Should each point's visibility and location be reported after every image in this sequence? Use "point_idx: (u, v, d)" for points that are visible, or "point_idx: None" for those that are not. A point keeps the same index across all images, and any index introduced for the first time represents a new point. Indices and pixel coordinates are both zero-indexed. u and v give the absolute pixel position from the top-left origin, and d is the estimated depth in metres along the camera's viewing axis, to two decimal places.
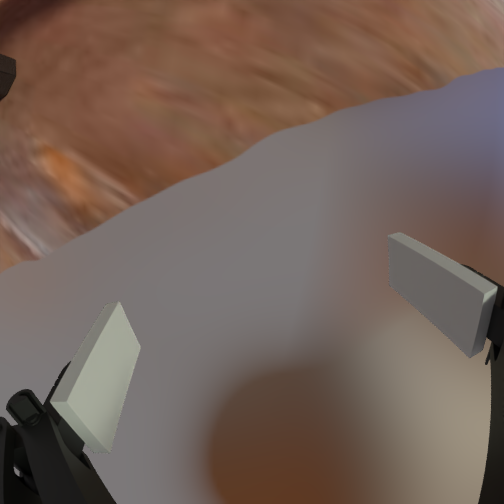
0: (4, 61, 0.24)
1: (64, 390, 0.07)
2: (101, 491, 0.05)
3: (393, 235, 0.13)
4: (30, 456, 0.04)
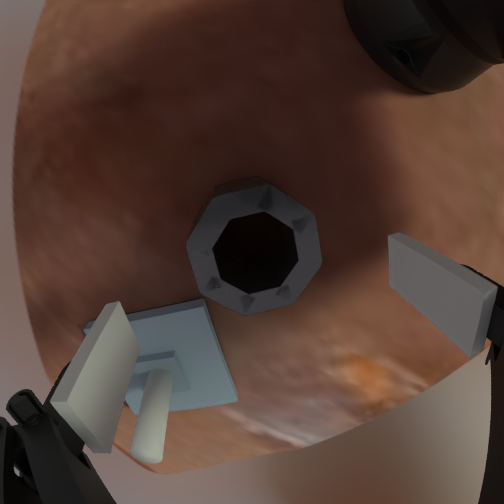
0: None
1: (64, 390, 0.07)
2: (101, 491, 0.05)
3: (393, 235, 0.13)
4: (30, 456, 0.04)
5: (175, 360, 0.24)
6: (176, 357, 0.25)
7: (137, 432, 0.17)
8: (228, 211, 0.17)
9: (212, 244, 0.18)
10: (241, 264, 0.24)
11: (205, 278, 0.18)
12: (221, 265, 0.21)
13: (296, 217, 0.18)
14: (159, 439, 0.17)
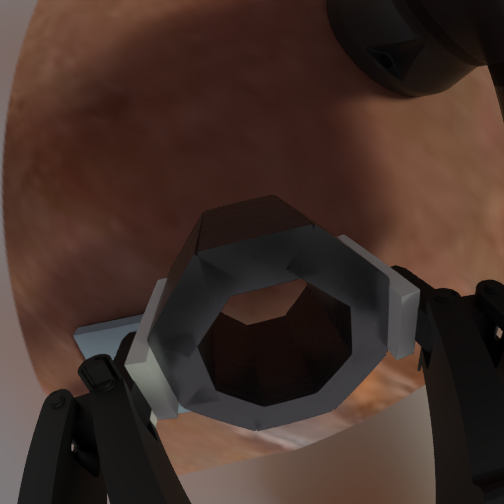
0: None
1: (139, 353, 0.08)
2: (166, 465, 0.06)
3: None
4: (96, 423, 0.06)
5: None
6: None
7: None
8: (227, 281, 0.08)
9: (197, 339, 0.09)
10: (247, 333, 0.15)
11: (189, 389, 0.09)
12: (216, 350, 0.12)
13: (357, 284, 0.09)
14: None
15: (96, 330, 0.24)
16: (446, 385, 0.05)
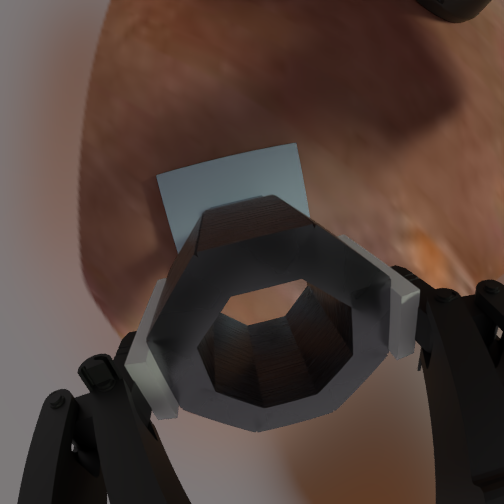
0: None
1: (139, 353, 0.08)
2: (166, 465, 0.06)
3: None
4: (97, 423, 0.06)
5: None
6: None
7: None
8: (227, 281, 0.08)
9: (197, 340, 0.09)
10: (247, 334, 0.15)
11: (188, 390, 0.09)
12: (216, 351, 0.12)
13: (358, 285, 0.09)
14: None
15: (188, 166, 0.23)
16: (446, 385, 0.05)
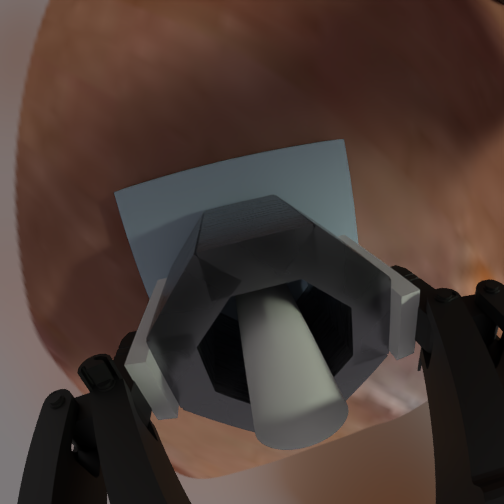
0: None
1: (139, 353, 0.08)
2: (166, 465, 0.06)
3: None
4: (97, 423, 0.06)
5: None
6: None
7: (271, 361, 0.07)
8: (226, 282, 0.08)
9: (197, 340, 0.09)
10: None
11: (188, 390, 0.09)
12: (216, 351, 0.12)
13: (359, 285, 0.09)
14: (329, 371, 0.07)
15: (165, 176, 0.14)
16: (446, 385, 0.05)
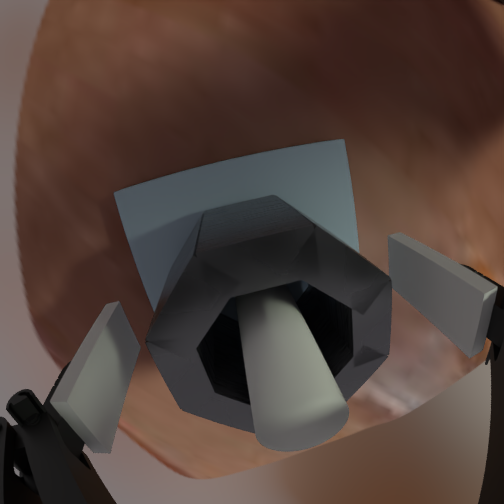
0: None
1: (64, 390, 0.07)
2: (101, 491, 0.05)
3: (393, 235, 0.13)
4: (30, 456, 0.04)
5: None
6: None
7: (272, 362, 0.07)
8: (226, 283, 0.08)
9: (196, 341, 0.09)
10: None
11: (188, 391, 0.09)
12: (215, 351, 0.12)
13: (359, 286, 0.09)
14: (330, 372, 0.07)
15: (165, 176, 0.14)
16: None
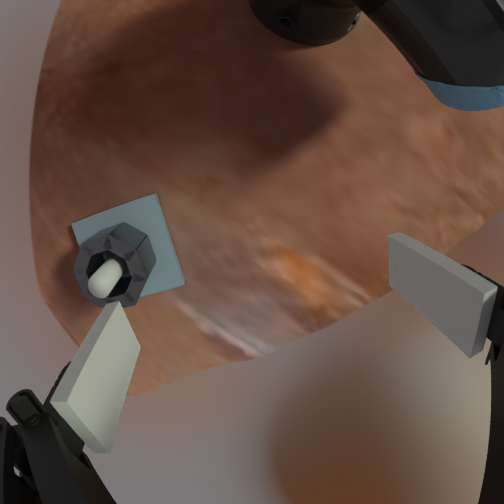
0: (145, 252, 0.31)
1: (64, 390, 0.07)
2: (101, 491, 0.05)
3: (393, 235, 0.13)
4: (30, 456, 0.04)
5: None
6: None
7: (96, 271, 0.26)
8: (89, 251, 0.27)
9: (85, 269, 0.28)
10: (120, 279, 0.34)
11: (85, 288, 0.28)
12: None
13: (125, 252, 0.28)
14: (110, 275, 0.26)
15: None
16: None
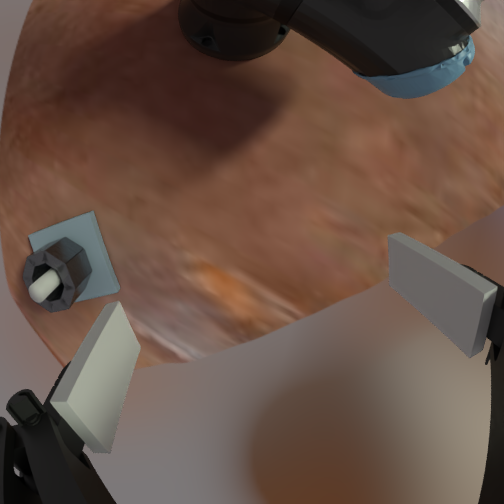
0: (77, 264, 0.33)
1: (64, 390, 0.07)
2: (101, 491, 0.05)
3: (393, 235, 0.13)
4: (30, 456, 0.04)
5: None
6: None
7: (36, 280, 0.28)
8: (33, 263, 0.29)
9: (31, 277, 0.30)
10: (64, 285, 0.36)
11: None
12: None
13: (57, 265, 0.30)
14: (46, 284, 0.28)
15: (41, 230, 0.35)
16: None
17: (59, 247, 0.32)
